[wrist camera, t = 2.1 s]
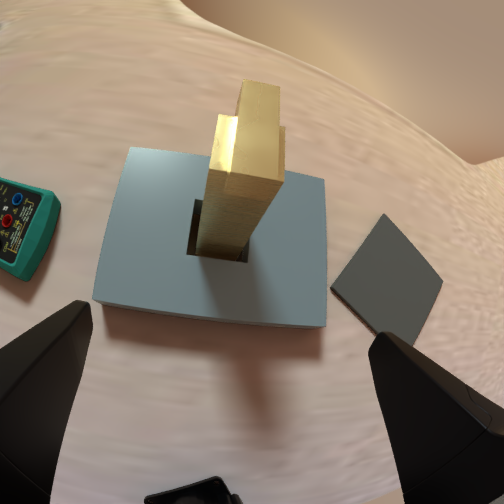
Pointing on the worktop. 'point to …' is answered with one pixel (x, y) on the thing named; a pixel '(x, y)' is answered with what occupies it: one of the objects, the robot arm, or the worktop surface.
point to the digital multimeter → (25, 226)
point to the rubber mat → (389, 283)
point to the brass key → (242, 172)
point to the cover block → (209, 269)
